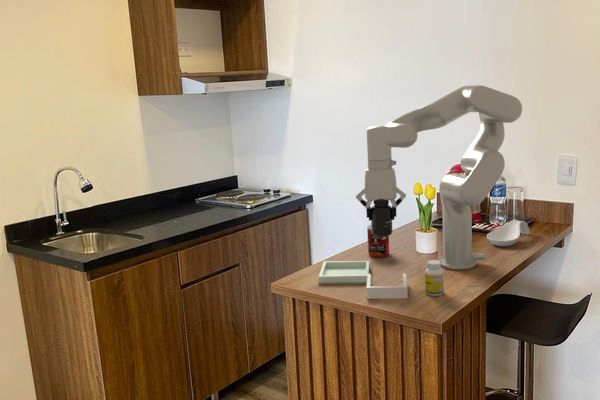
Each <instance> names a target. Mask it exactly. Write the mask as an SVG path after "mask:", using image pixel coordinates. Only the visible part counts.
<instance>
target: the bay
mask: <svg viewBox="0 0 600 400" xmlns="http://www.w3.org/2000/svg"><path fill="white" fill-rule="evenodd" d="M365 287H366V299H367V300H373V299H374V300H375V299H376V300H377V299H379V300H381V299H382V300H383V299H385V300H387V299H388V300H389V299H392V300H393V299H395V300H396V299H397V300H398V299H400V300H401V299H406V300H407V299H408V298H409V296H408V280H407V273H404V272H403V273H402V285H398V286H397V285H393V286H392V285H386V286H384V285H383V286H382V285H380V286H375V285H374V286H372V274H371V273H369V274H368V277H367V283H366V286H365Z"/></svg>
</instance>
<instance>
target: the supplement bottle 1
mask: <svg viewBox="0 0 600 400" xmlns="http://www.w3.org/2000/svg"><path fill="white" fill-rule="evenodd" d="M372 202H373V203H372V204H373V206H371V221H370V225H371V232H372V234H373V235H375V236H388V235H389V236H391V235H392V234H393V220H392V206H391V205H390V204H389V203H390V200H384V199H378V200H376V201H372Z"/></svg>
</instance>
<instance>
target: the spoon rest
mask: <svg viewBox="0 0 600 400" xmlns="http://www.w3.org/2000/svg"><path fill="white" fill-rule="evenodd" d="M520 233H521V234H520ZM524 234H526V235H525V236H530V235H529V234H531V230H530V227H529V225H528V223H527V221H524V220H518V219H512V220H511V221H509V222H507V223H505V224H504V225H502V226H499V227H498V228H496V229H494V230H492V231H490V232H489V233H487V234H486V238H487V240H488V241H489V242H490V243H491V244H492V245H494V246H497V247H504V248H505V247H511V246H513V245H514V244H516V243H517V242H518V241H519V240H520V237H521V235H524Z"/></svg>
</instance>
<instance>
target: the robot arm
mask: <svg viewBox="0 0 600 400" xmlns="http://www.w3.org/2000/svg"><path fill="white" fill-rule="evenodd" d="M469 113H477V114H478V117H479V120H480V121H479V123H480V127H479V128H480V129H479V131H478V134H477V135H476V137H475V138H474V140H473V141H472V143H471V144H470V145H469V146H468V148H467V150H466V151H465V153H464V154H463V155H462V157H461V159H460V168H461V170H462V171H463V172H465V173H466V174H463V173H458V172H452V173H448V174H446V175H445V176H443V177H442V179H441V180H440V183H439V189H438V190H439V196H440V201H441V208H442V210H441V211H442V257H441V258H440V259H439V260H438V261H440V262H441V267H442V268H443V269H449V270H469V269H470V270H471V269H473V268H475V267H476V266H477V263H478V262H477V260H480V261H481V260H483V261H486V260H487V254H486V253H482V252H474V251H473V248H472V247H473V245H472V244H473V243H472V241H473V240H472V239H473V238H472V236H473V235H472V234H473V233H472V230H473V229H472V228H473V227H472V223H473V222H472V221H473V219H472V217H473V216H472V209H471V207H476V206H478V205H480V204H481V203H482V202H484V200H485V199H486V197H487V196H488V195H489V193H490V192H491V190H493V188H494V186H495V185H496V183H498V180H500V178H501V177H502V174H503V173H504V169H505V165H506V164H505V158H504V155H503V154H502V153H501V152H499V150H500V148H501V146H502V145H503V143H504V140H505V137H506V136H505V133H506V132H505V126H504V124H506V123H507V124H509V123H514V122H516V121H517V120H519V118H520V117H521V116H522V113H523V104H522V103H521V101H520V100H519V99H518V98H517V97H516V96H513V95H511V94H508V93H506V92H502V91H500V90H496V89H494V88H491V87H488V86H485V85H480V84H479V85H464V86H461V87H459V88H457V89H455V90H453V91H451V92H450V93H447V94H446V95H444V96H442V97H440V98H439V99H437V100H435V101H433V102H430V103H429V104H426V105H424V106H421V107H419V108H417V109H414V110H412V111H409V112H406V113H405V114H402V115H401V116H398V117H397V118H395V119H393V120H392V121H390V122H388V123H387V124H385V125H372V126H369V127H368V128H367V130H366V147H367V168H366V169H365V172H364V173H365V174H364V188H363V189H362V190H361V191H359V192H358V194H356V195H355V198H356V200H357V201H358V202H360V204H361V205H362V206H364V208H365V209H366V212H365V213H366V218H368V221H370V222H371V208H372V206H371V205H372V202H374V201H376V200H378V199H384V200H389V202H390V204H392V206H391V208H392V221H395V217H397V207H399V205H400V204H401V203H402V202H403V200H404V199H405V198H406V197H407V194H406V193H405V192H403V191H402V190H401V189H400V188H399V187H397V176H396V171H395V168H394V166H397V160H393V159H392V158H393V157H392V148H401V149H402V148H403V149H406V148H410V147H412V146H413V145H414V144H415V143H416V142H417V141H418V133H420V132H424V131H430V130H436V129H440V128H443V127H445V126H447V125H448V124H451V123H452V122H454V121H456V120H458V119H460V118H461V117H463V116H465V115H467V114H469ZM397 195H399V197H398V198H397ZM363 196H364V198H365V199H366V200H365V199H364V198H363ZM396 198H397V199H396ZM395 199H396V200H395ZM441 267H440V268H441Z"/></svg>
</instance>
